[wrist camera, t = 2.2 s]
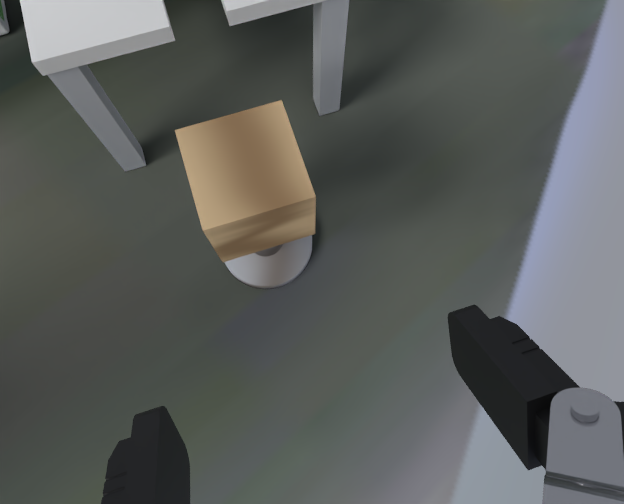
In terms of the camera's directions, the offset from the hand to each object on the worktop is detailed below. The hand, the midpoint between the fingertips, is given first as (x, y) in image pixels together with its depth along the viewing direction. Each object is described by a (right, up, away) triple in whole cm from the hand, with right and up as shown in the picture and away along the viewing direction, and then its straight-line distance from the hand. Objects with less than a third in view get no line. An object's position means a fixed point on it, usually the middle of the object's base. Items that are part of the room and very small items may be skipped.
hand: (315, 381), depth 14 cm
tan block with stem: (-3, +4, +20) cm, 20 cm away
